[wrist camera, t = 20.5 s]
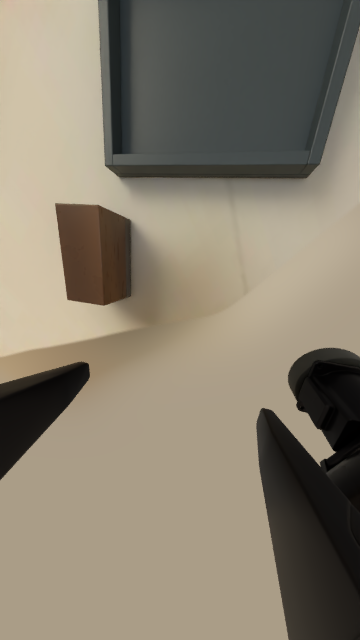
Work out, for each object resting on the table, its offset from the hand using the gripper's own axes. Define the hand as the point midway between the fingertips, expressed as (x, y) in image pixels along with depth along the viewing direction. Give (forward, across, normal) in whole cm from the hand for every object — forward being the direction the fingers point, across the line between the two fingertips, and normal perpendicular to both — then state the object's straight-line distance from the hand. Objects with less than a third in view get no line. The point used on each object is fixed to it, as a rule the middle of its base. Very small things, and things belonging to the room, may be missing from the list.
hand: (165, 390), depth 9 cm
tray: (+12, +2, -20) cm, 23 cm away
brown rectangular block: (+12, +10, -6) cm, 16 cm away
